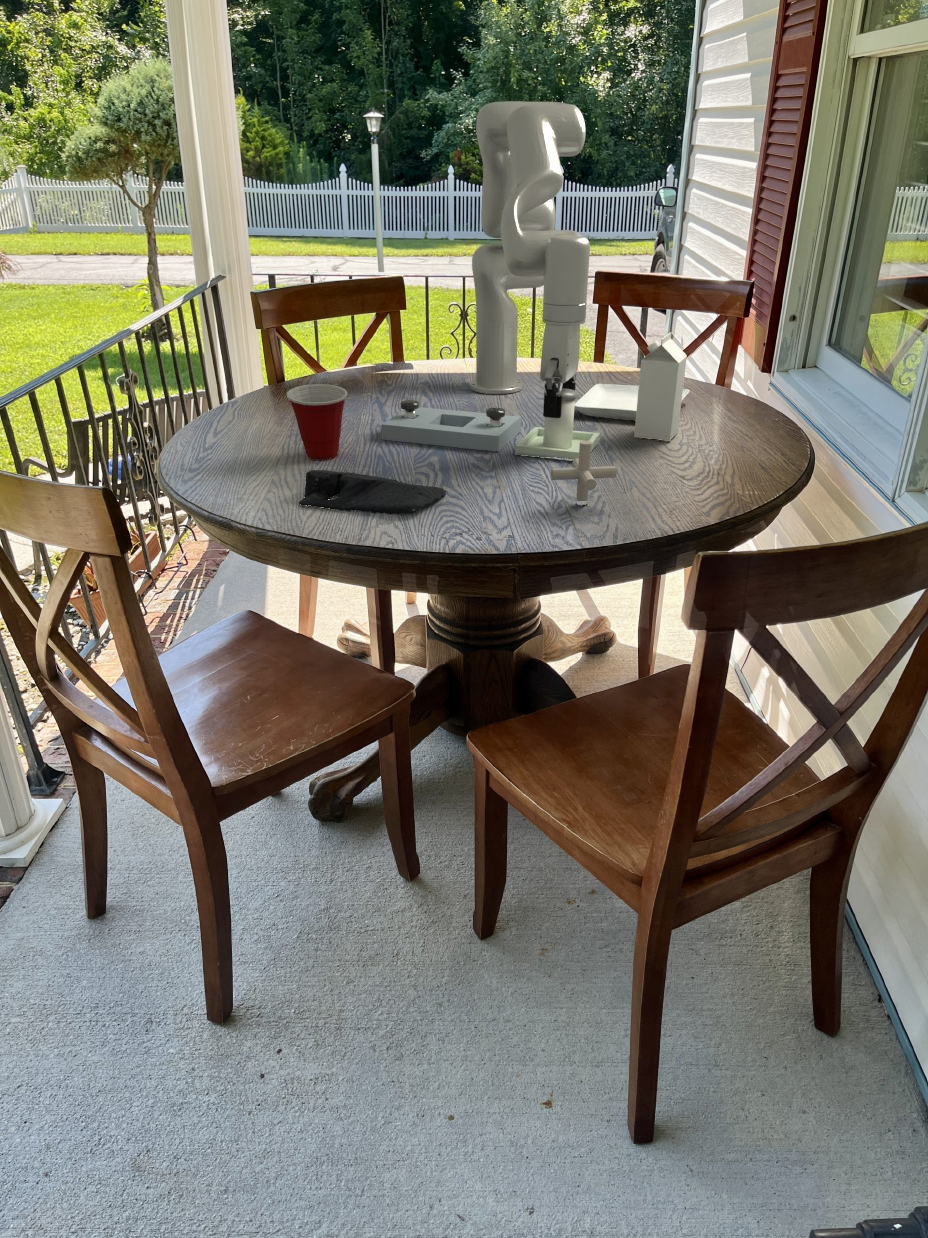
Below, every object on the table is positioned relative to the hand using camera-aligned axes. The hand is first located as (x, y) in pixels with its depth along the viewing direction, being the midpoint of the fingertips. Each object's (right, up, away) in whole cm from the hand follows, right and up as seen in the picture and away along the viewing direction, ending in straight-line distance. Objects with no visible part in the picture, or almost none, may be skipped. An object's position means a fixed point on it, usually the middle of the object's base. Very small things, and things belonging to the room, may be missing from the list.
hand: (559, 409), depth 156 cm
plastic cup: (-44, -9, +1) cm, 45 cm away
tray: (0, -7, +3) cm, 7 cm away
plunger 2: (-12, -4, +8) cm, 15 cm away
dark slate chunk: (-32, -20, -19) cm, 42 cm away
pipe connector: (+1, -21, -22) cm, 30 cm away
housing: (-20, -2, +11) cm, 23 cm away
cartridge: (0, -6, +3) cm, 7 cm away
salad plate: (+19, +6, +27) cm, 33 cm away
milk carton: (+20, -3, +10) cm, 23 cm away
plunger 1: (-28, -1, +14) cm, 32 cm away
